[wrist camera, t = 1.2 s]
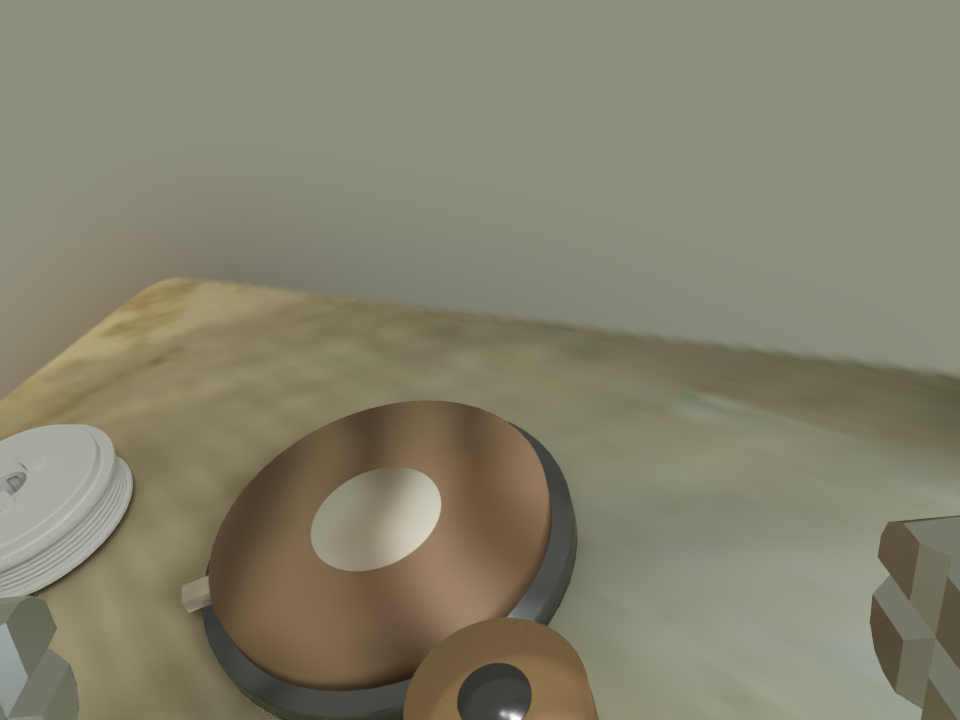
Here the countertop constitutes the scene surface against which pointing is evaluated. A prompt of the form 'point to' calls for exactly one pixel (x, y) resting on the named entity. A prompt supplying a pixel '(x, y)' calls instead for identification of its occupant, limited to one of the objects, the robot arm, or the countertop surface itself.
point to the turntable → (378, 544)
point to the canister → (501, 676)
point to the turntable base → (379, 711)
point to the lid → (56, 502)
